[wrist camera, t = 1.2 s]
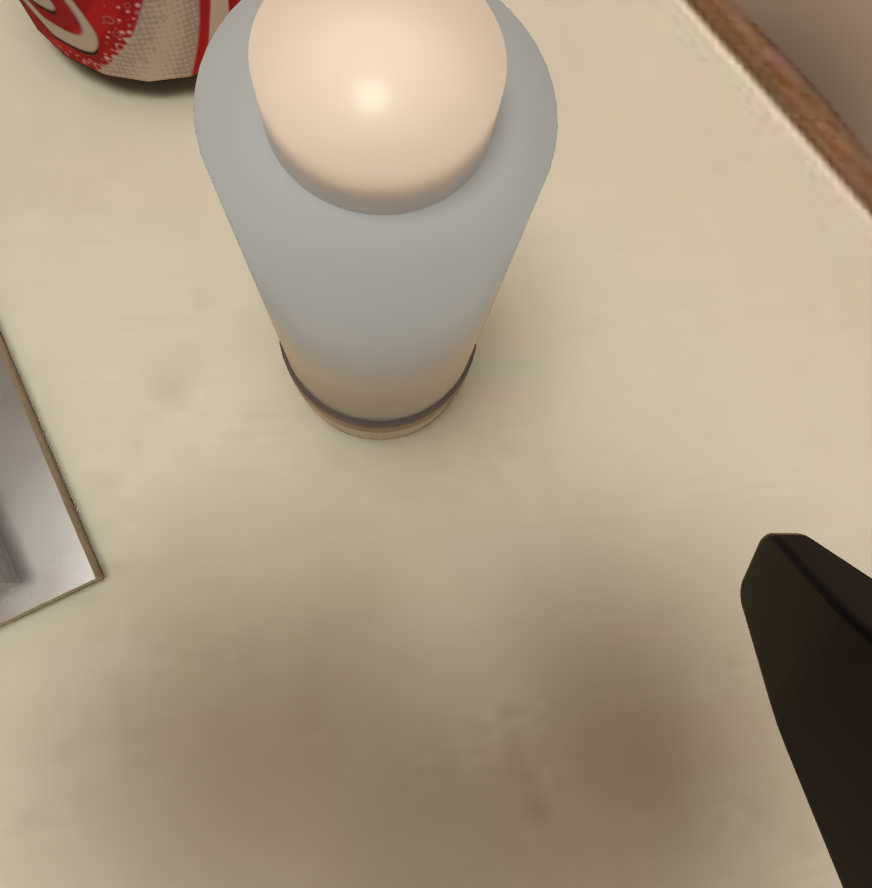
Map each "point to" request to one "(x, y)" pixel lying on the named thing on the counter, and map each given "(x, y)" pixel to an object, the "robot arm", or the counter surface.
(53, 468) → the gray base
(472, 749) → the counter surface
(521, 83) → the bottle
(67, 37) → the beverage can
